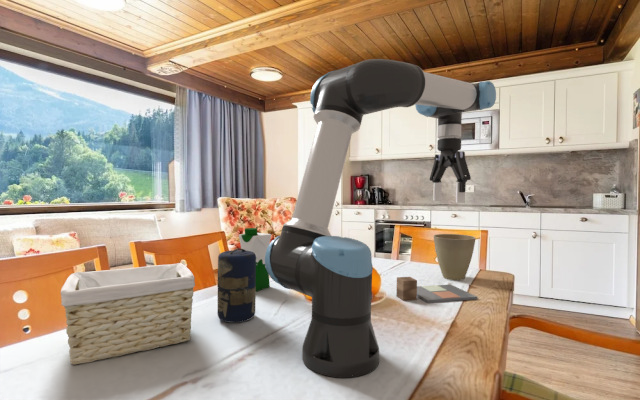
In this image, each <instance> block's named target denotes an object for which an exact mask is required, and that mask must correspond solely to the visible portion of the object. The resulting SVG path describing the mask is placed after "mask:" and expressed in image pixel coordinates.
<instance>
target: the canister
mask: <svg viewBox="0 0 640 400" xmlns="http://www.w3.org/2000/svg"><path fill="white" fill-rule="evenodd" d="M256 295H257V291H256V255H255V253H254V252H251V251H246V250H244V249H241V247H238V248H235V249H232V250H225V251H222V252H220V253H219V254H218V257H217V317H218V318H219V320H220V321H223V322H226V323H240V322H246V321H249V320H251V319H252V318H254V316H255V315H256V300H257V299H256Z"/></svg>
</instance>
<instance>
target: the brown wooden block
mask: <svg viewBox="0 0 640 400" xmlns="http://www.w3.org/2000/svg"><path fill="white" fill-rule="evenodd" d="M417 286H418V280H417V279H415V278H414V277H411V276H402V277H401V276H400V277H399V276H397V277H396V296H395V297H396V298H398V299H400V300H401V301H404V302H406V301H417V298H418V297H417Z"/></svg>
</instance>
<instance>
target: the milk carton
mask: <svg viewBox="0 0 640 400" xmlns="http://www.w3.org/2000/svg"><path fill="white" fill-rule="evenodd" d="M238 238H239V243H240V248H241V249H244V250H246V251H251V252H254V253H255V255H256V292H258V291H262V290H264V289H268V288H270V286H271V285H270V276H269V274H268V272H267V270H266V266H265V254H266V250H267V247H268V245H269V244H270V242H271V238H272V234H271V233H266V232H263V233H262V232H258V228H257V227H246V228H244V233H242V234H238Z"/></svg>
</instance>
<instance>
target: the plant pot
mask: <svg viewBox="0 0 640 400" xmlns="http://www.w3.org/2000/svg"><path fill="white" fill-rule="evenodd" d="M433 243H434V249H435V253H436V259H437V262H438V266H439V269H440V271H441V274H442V277H443V278H444V279H446V280H449V281H463V280H464V279H465V278H466V275H467V273H468V270H469V268H470V264H471V261H472V258H473V254H474V250H475V249H474V248H475V244H476V237H475V236H473V235H468V234H457V233H456V234H455V233H439V234H434V235H433Z"/></svg>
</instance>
